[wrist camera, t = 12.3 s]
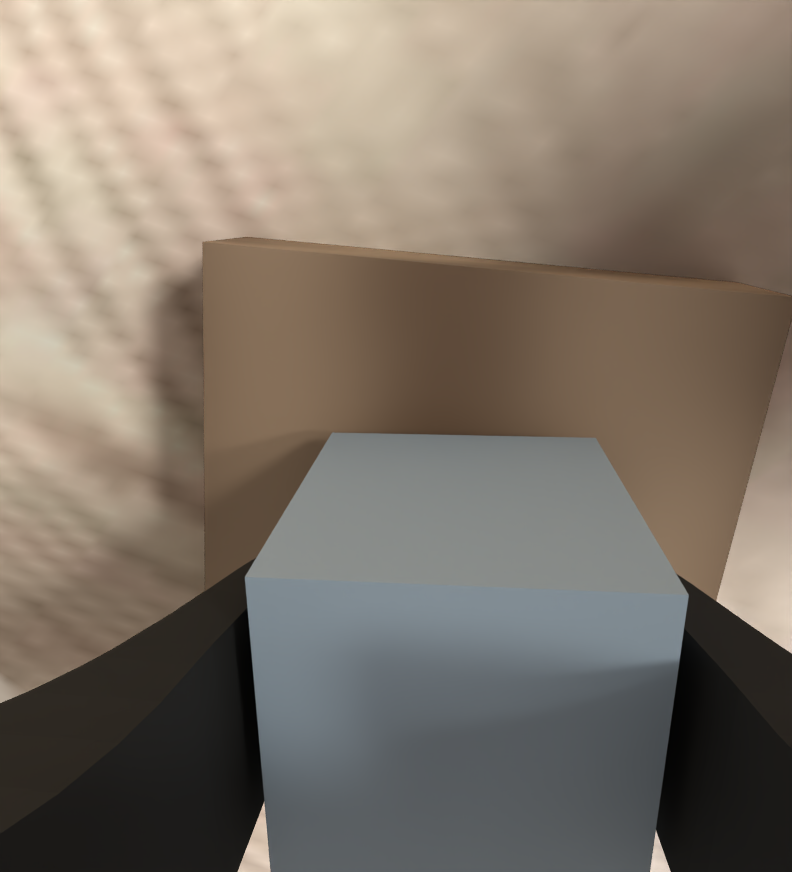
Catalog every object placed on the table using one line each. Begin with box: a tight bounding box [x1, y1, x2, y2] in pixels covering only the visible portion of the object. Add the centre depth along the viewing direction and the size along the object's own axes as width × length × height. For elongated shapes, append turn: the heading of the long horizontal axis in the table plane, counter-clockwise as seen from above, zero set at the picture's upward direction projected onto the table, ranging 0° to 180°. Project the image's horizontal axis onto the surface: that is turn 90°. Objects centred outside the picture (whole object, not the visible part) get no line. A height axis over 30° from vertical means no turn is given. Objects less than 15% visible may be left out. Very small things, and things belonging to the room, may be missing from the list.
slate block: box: [245, 433, 689, 872], centre depth 10 cm, size 4×4×5 cm
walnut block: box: [203, 237, 792, 601], centre depth 14 cm, size 10×10×3 cm
